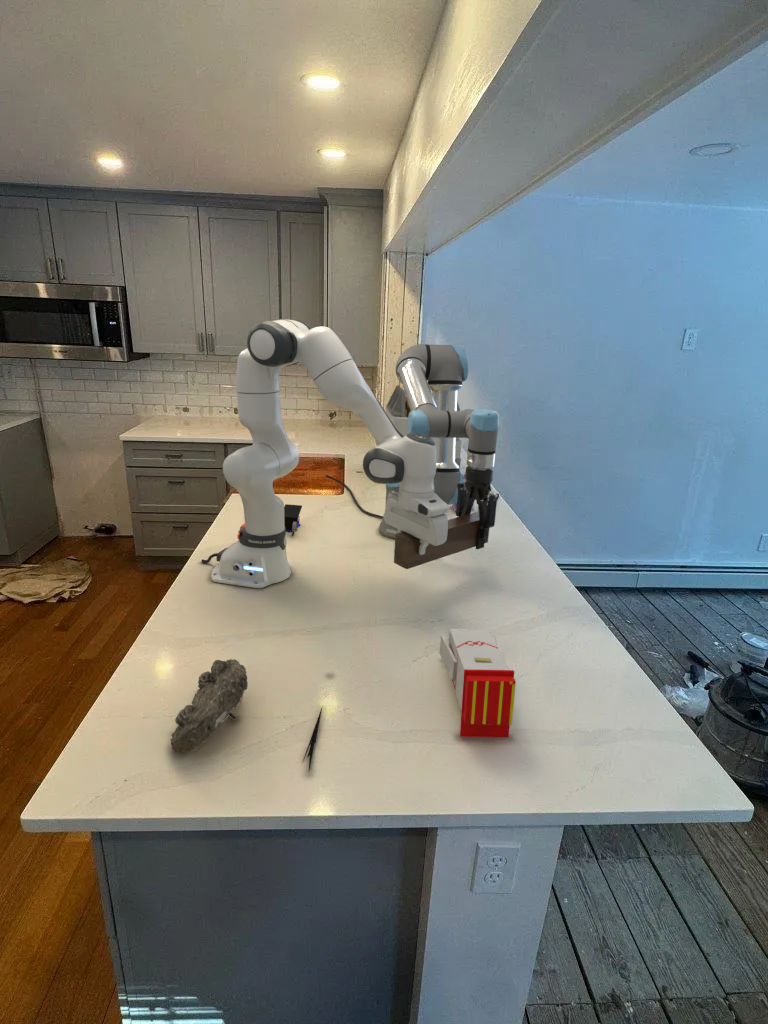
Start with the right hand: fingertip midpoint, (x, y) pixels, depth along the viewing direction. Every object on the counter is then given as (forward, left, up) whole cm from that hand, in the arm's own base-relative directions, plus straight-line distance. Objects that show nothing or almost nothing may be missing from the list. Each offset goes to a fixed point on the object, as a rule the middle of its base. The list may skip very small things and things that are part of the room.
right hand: (472, 544), depth 164 cm
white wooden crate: (-92, +68, -12) cm, 115 cm away
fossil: (+10, -84, -12) cm, 85 cm away
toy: (+35, -39, -12) cm, 54 cm away
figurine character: (-63, -22, -12) cm, 68 cm away
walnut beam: (0, -12, +1) cm, 12 cm away
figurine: (-44, +46, -12) cm, 65 cm away
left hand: (0, -24, +5) cm, 25 cm away
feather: (+23, -69, -12) cm, 73 cm away
